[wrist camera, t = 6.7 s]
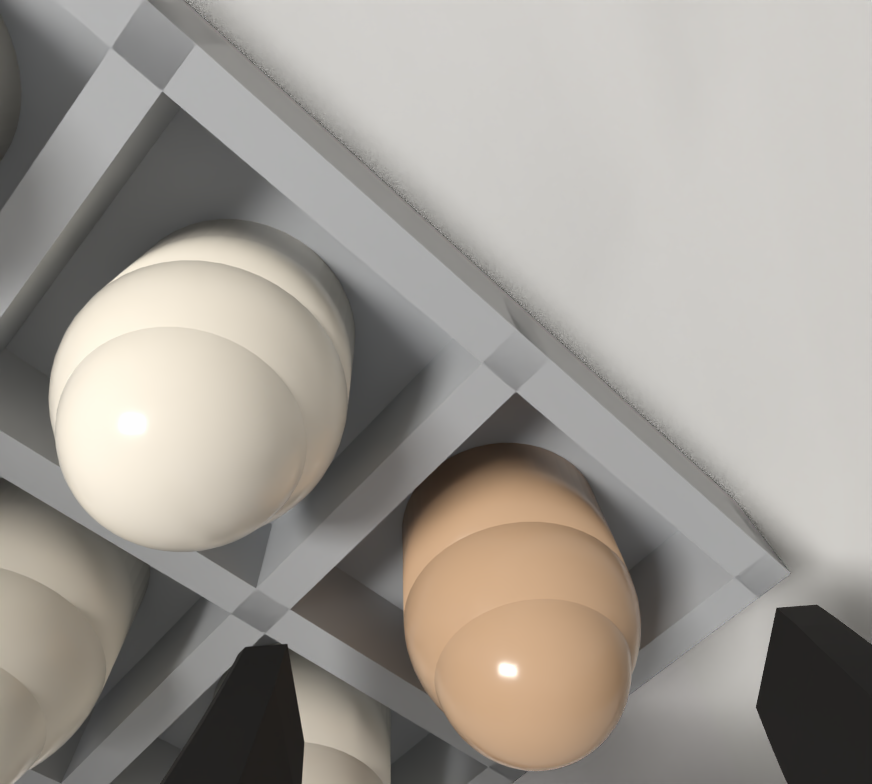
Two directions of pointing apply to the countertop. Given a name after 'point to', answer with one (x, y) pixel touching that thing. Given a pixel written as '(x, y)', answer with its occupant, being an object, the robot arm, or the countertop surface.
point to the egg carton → (368, 397)
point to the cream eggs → (175, 466)
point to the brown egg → (518, 605)
